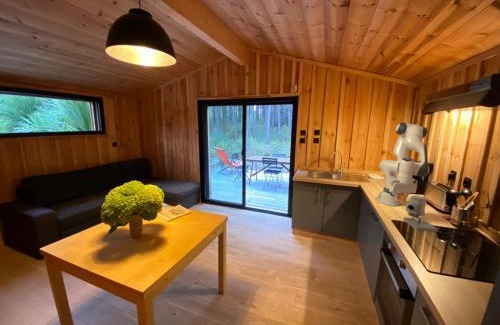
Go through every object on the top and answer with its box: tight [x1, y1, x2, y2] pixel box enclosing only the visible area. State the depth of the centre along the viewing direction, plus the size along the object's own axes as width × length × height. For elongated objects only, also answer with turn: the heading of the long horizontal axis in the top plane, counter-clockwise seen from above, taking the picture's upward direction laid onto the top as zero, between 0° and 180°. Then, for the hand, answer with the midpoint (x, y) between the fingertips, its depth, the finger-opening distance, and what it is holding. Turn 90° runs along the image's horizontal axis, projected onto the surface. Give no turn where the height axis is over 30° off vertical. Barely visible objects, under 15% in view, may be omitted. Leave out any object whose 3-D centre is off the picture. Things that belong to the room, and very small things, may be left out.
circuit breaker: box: [405, 194, 428, 219], centre depth 169 cm, size 8×14×15 cm, turn 117°
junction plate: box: [402, 216, 439, 233], centre depth 153 cm, size 16×13×7 cm
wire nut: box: [395, 193, 408, 203], centre depth 162 cm, size 5×5×6 cm
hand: (401, 198), depth 162 cm, fingers closed on wire nut, 6 cm apart
